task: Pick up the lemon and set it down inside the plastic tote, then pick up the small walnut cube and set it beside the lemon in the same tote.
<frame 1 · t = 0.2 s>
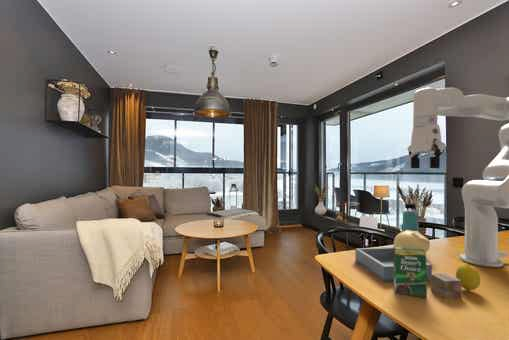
hand: (424, 168, 96), 36 cm above the table, tool pointing down, fingers open, 9 cm apart
walnut cube: (445, 294, 74), on the table
lemon: (467, 291, 75), on the table
tote: (390, 269, 91), on the table
beverage bottle: (410, 247, 118), on the table
sculpture: (410, 257, 105), on the table
coffee box: (409, 294, 74), on the table
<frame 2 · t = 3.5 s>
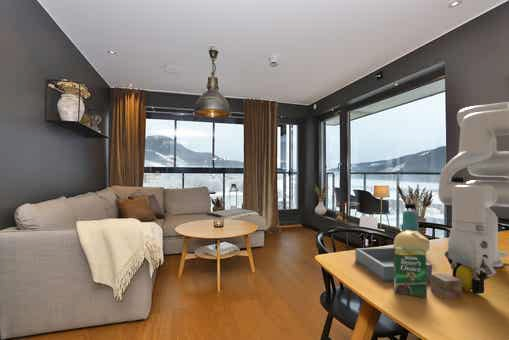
hand: (467, 287, 75), 1 cm above the table, tool pointing down, fingers closed on lemon, 5 cm apart
lemon: (467, 291, 75), on the table, touching gripper
everything else where it was.
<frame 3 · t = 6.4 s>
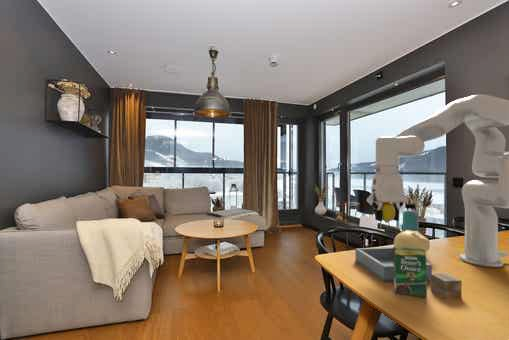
hand: (386, 219, 93), 17 cm above the table, tool pointing down, fingers closed on lemon, 5 cm apart
lemon: (386, 223, 93), point 16 cm above the table, touching gripper
everything else where it was.
when the fingers open (3 cm above the table, at t = 9.6 s): lemon stays where it is, resting on tote.
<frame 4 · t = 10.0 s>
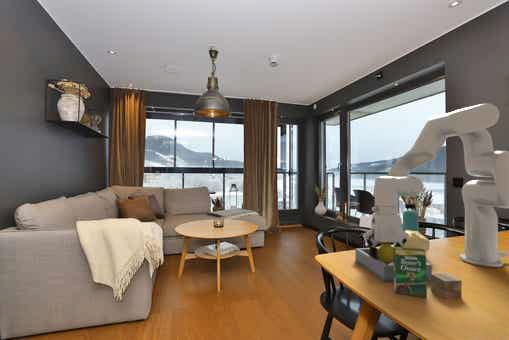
hand: (385, 256, 94), 4 cm above the table, tool pointing down, fingers open, 9 cm apart
lemon: (386, 265, 94), point 1 cm above the table, touching tote
everything else where it was.
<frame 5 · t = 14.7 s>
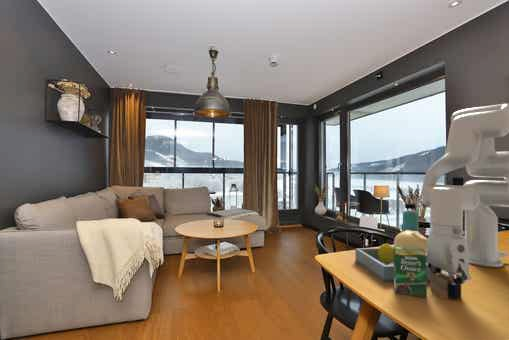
hand: (445, 292, 74), 0 cm above the table, tool pointing down, fingers closed on walnut cube, 5 cm apart
walnut cube: (445, 294, 74), on the table, touching gripper
everything else where it was.
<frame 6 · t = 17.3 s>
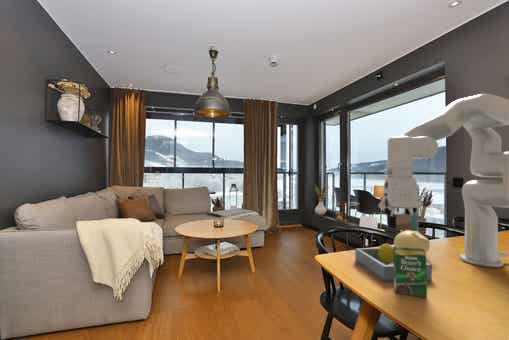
hand: (399, 226, 86), 16 cm above the table, tool pointing down, fingers closed on walnut cube, 5 cm apart
walnut cube: (399, 228, 86), point 16 cm above the table, touching gripper
everything else where it was.
when the fingers open (3 cm above the table, at t = 20.1 s): walnut cube drops 1 cm, resting on tote.
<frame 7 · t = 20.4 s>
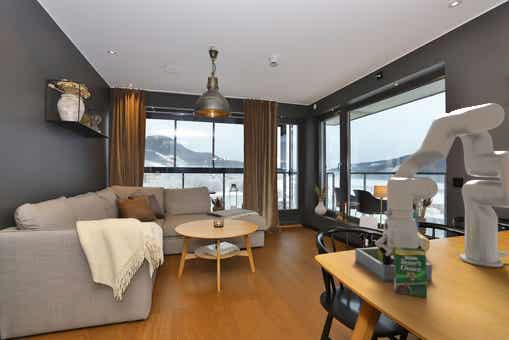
hand: (399, 265, 86), 3 cm above the table, tool pointing down, fingers open, 8 cm apart
walnut cube: (399, 273, 86), point 1 cm above the table, touching tote
everything else where it was.
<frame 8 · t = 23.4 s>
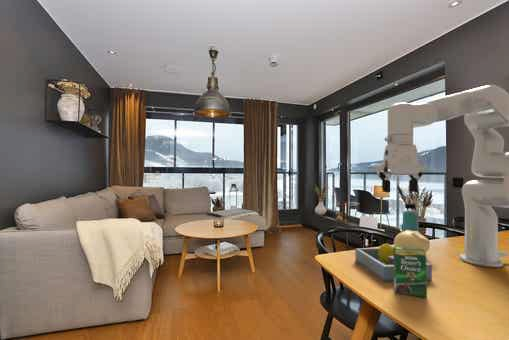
hand: (399, 191, 86), 28 cm above the table, tool pointing down, fingers open, 9 cm apart
nothing on the table moved.
at the end: lemon inside the target area on the tote (2.5 cm from its centre), point 0.6 cm above the tote's base; walnut cube inside the target area on the tote (5.0 cm from its centre), point 0.8 cm above the tote's base; the gripper is holding nothing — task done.
